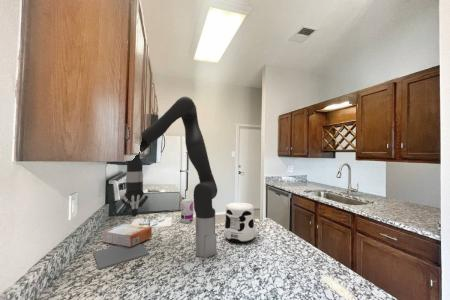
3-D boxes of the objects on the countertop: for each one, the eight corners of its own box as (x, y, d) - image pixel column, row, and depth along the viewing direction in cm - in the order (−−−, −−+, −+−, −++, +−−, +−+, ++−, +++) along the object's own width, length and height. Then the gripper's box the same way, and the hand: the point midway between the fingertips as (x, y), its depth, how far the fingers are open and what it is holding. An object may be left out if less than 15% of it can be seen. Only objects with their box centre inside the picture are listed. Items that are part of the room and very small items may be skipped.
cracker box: (152, 238, 112) (125, 233, 120) (152, 226, 112) (125, 222, 121) (130, 248, 99) (102, 242, 108) (130, 235, 99) (102, 230, 108)
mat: (149, 254, 94) (149, 253, 94) (99, 269, 82) (99, 268, 82) (137, 241, 108) (137, 240, 108) (93, 253, 96) (93, 251, 96)
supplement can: (195, 220, 143) (195, 198, 144) (190, 224, 135) (190, 201, 136) (184, 219, 146) (184, 198, 146) (178, 223, 138) (179, 200, 138)
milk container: (248, 231, 123) (248, 201, 124) (260, 243, 107) (260, 208, 107) (220, 233, 119) (220, 202, 119) (229, 246, 102) (229, 210, 103)
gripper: (121, 182, 93) (121, 221, 92) (150, 180, 101) (150, 215, 100) (117, 180, 98) (117, 217, 98) (145, 178, 107) (145, 212, 106)
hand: (134, 216), depth 99 cm, fingers closed
